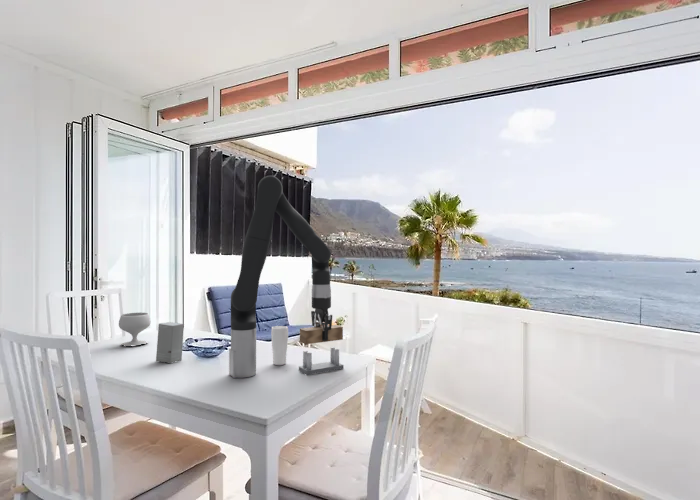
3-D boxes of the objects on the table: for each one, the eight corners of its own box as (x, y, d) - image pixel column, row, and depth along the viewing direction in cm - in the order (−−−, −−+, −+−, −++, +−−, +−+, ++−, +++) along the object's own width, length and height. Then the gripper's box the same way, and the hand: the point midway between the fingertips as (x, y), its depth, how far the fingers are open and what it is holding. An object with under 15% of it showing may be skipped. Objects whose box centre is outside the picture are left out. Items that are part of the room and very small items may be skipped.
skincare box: (155, 361, 170) (155, 323, 170) (169, 357, 177) (169, 321, 177) (171, 363, 167) (171, 325, 167) (184, 359, 174) (184, 322, 174)
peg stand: (306, 374, 152) (306, 354, 152) (298, 370, 158) (298, 350, 158) (343, 368, 160) (343, 349, 160) (334, 364, 166) (335, 346, 166)
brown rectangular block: (305, 344, 153) (305, 330, 153) (299, 341, 158) (299, 328, 158) (342, 339, 161) (342, 326, 161) (336, 337, 166) (336, 324, 166)
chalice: (130, 341, 210) (130, 312, 210) (156, 341, 208) (156, 312, 209) (111, 347, 196) (112, 316, 196) (139, 348, 195) (139, 316, 195)
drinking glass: (284, 366, 163) (284, 329, 163) (268, 365, 165) (268, 328, 165) (290, 362, 170) (290, 326, 170) (275, 361, 171) (275, 325, 171)
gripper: (304, 294, 164) (305, 337, 164) (321, 298, 151) (321, 343, 151) (321, 293, 168) (321, 335, 167) (338, 297, 155) (338, 341, 155)
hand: (321, 339), depth 159 cm, fingers closed on brown rectangular block, 5 cm apart
